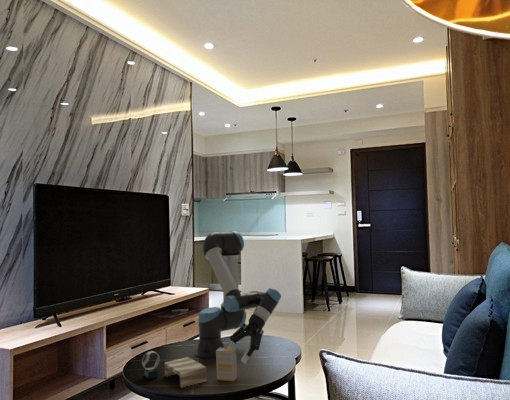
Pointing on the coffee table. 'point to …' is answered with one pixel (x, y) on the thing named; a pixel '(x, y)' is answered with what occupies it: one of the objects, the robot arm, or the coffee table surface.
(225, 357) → the supplement box
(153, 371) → the watch
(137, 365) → the coffee table surface
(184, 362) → the grooved beige block
